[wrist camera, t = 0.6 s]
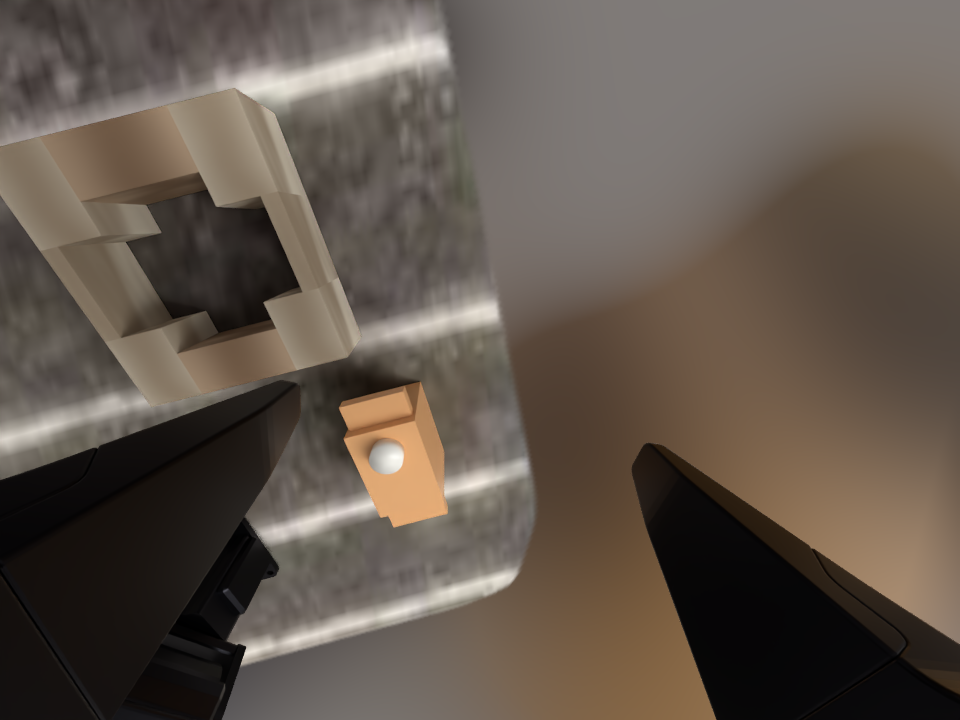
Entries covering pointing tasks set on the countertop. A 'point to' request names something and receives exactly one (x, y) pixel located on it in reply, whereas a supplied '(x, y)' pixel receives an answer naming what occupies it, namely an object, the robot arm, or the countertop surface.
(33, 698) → the robot arm
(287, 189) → the beige notched square frame
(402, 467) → the block
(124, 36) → the countertop surface
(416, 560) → the countertop surface
